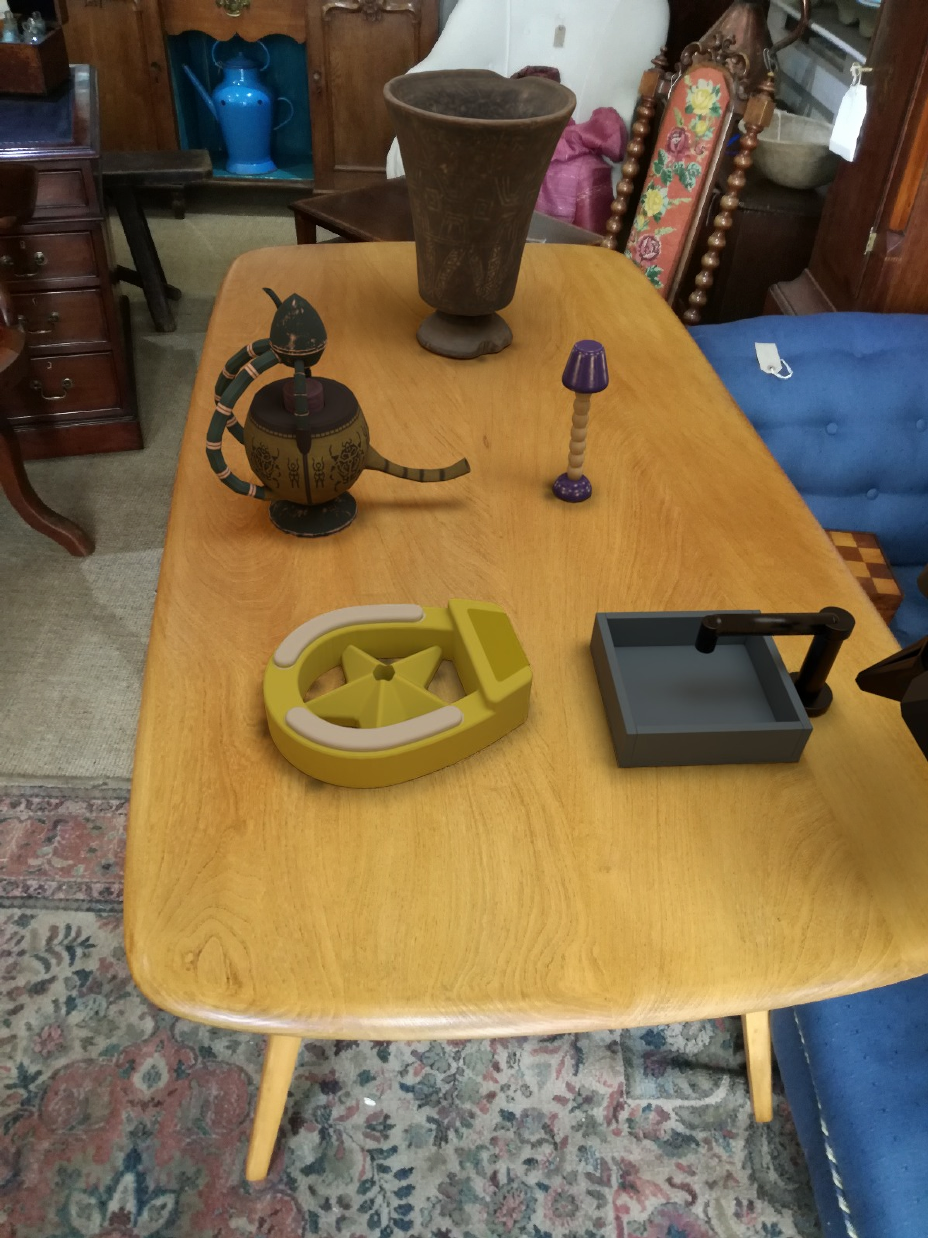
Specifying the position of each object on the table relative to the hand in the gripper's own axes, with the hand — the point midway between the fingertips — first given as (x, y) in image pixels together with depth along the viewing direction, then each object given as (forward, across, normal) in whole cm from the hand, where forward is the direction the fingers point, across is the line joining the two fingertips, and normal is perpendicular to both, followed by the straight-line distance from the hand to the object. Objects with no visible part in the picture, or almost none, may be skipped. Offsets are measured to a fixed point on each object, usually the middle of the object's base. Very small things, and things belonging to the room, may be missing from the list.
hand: (858, 681), depth 68 cm
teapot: (+43, -2, -30) cm, 52 cm away
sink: (+15, 0, -1) cm, 15 cm away
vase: (+52, -41, -39) cm, 77 cm away
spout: (+7, -3, -3) cm, 8 cm away
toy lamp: (+32, -20, -18) cm, 42 cm away
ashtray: (+28, +16, -15) cm, 36 cm away
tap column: (+9, -6, +4) cm, 12 cm away
